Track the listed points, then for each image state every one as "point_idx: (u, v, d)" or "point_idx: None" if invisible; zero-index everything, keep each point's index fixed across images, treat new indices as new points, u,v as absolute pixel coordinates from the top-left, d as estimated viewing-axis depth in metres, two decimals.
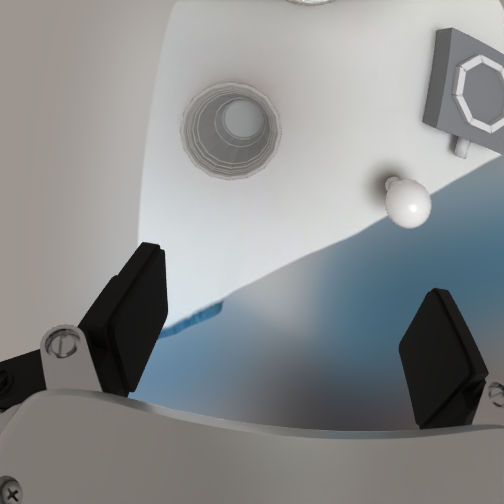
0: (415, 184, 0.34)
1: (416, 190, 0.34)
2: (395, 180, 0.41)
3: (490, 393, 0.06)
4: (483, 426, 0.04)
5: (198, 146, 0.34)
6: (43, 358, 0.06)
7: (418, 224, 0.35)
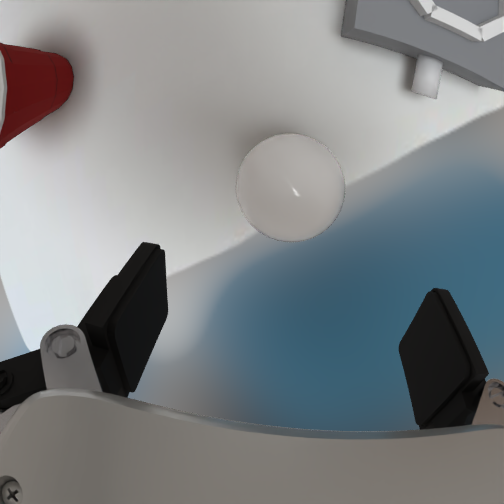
0: (296, 140, 0.16)
1: (292, 153, 0.15)
2: None
3: (490, 393, 0.06)
4: (483, 426, 0.04)
5: None
6: (43, 358, 0.06)
7: (306, 234, 0.17)
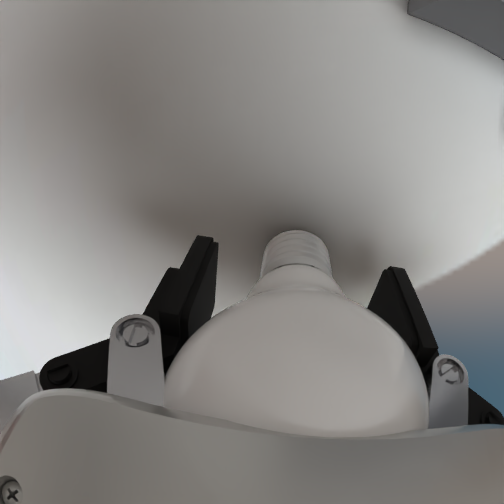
0: (322, 379, 0.04)
1: None
2: (288, 254, 0.11)
3: (441, 371, 0.07)
4: (483, 426, 0.04)
5: None
6: (116, 348, 0.06)
7: None
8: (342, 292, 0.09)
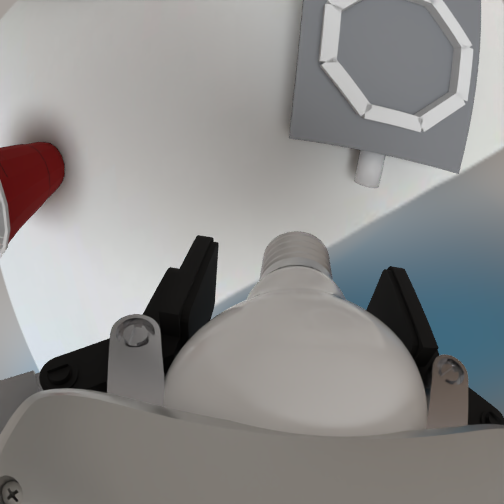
0: (320, 381, 0.04)
1: None
2: (288, 255, 0.11)
3: (440, 371, 0.07)
4: (483, 426, 0.04)
5: None
6: (117, 348, 0.06)
7: None
8: (341, 294, 0.09)
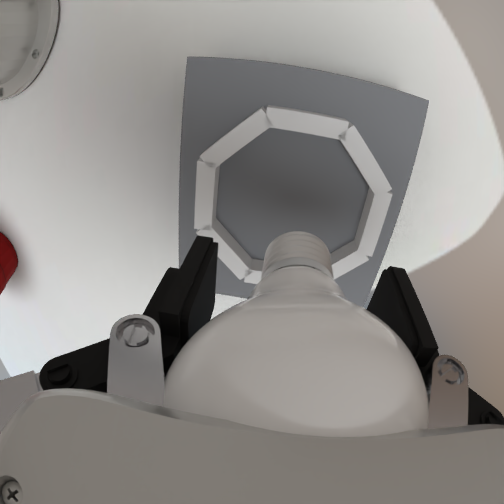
0: (322, 381, 0.04)
1: None
2: (290, 255, 0.11)
3: (440, 371, 0.07)
4: (483, 426, 0.04)
5: None
6: (116, 348, 0.06)
7: None
8: (343, 294, 0.09)
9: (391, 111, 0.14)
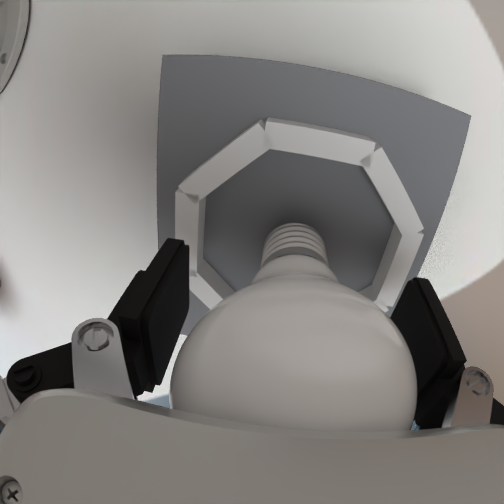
0: (320, 351, 0.05)
1: (305, 415, 0.05)
2: (288, 244, 0.11)
3: (468, 382, 0.06)
4: (483, 426, 0.04)
5: None
6: (76, 351, 0.06)
7: None
8: (337, 280, 0.10)
9: (426, 128, 0.11)
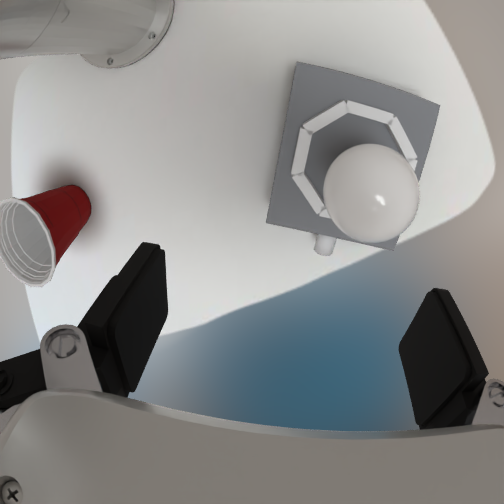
0: (385, 150, 0.16)
1: (385, 162, 0.16)
2: None
3: (490, 393, 0.06)
4: (483, 426, 0.04)
5: (14, 248, 0.30)
6: (43, 358, 0.06)
7: (389, 235, 0.17)
8: None
9: (417, 110, 0.22)
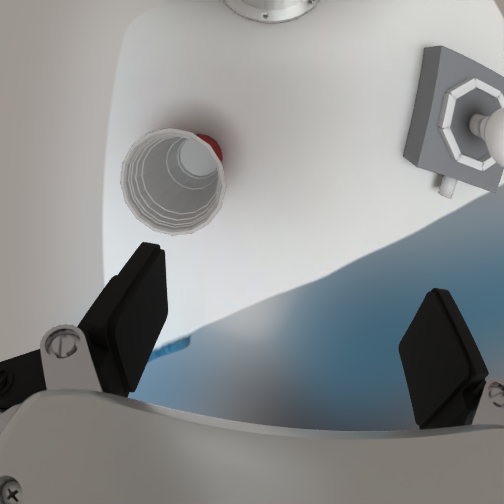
0: None
1: None
2: (484, 116, 0.24)
3: (490, 393, 0.06)
4: (483, 426, 0.04)
5: (142, 196, 0.32)
6: (43, 358, 0.06)
7: None
8: None
9: None
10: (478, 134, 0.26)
